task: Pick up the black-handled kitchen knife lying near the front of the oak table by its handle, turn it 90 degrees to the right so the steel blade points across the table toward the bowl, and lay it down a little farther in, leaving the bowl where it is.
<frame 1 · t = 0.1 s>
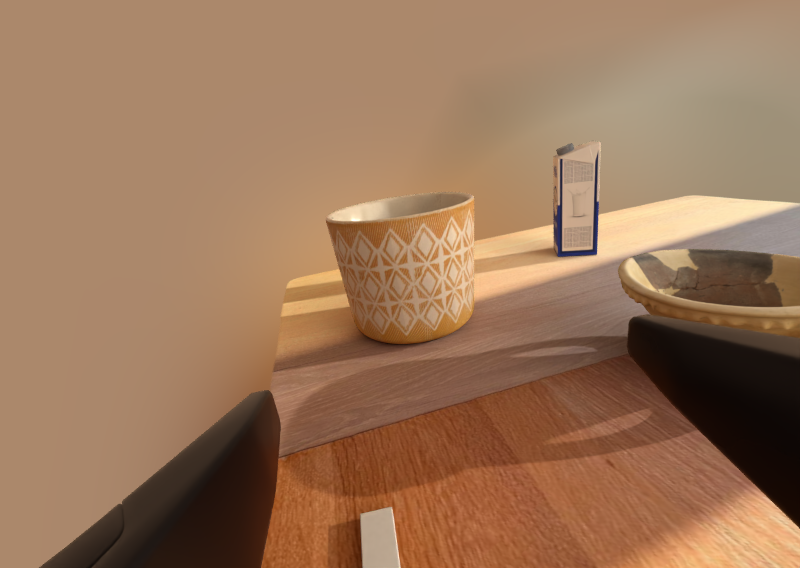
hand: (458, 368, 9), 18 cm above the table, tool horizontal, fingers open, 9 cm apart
planter: (414, 319, 55), on the table
bowl: (718, 362, 36), on the table
milk carton: (574, 251, 74), on the table
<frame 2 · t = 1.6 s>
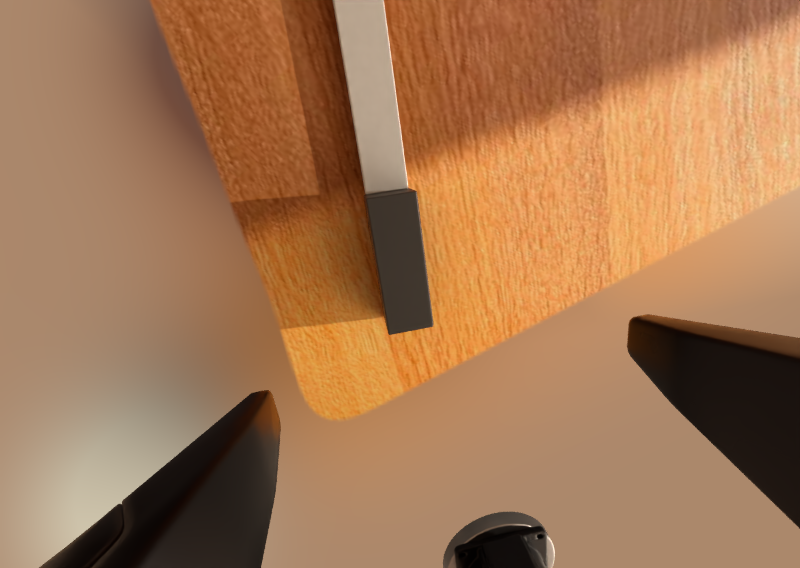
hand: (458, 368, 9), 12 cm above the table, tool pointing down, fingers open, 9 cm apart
knife: (404, 314, 22), on the table
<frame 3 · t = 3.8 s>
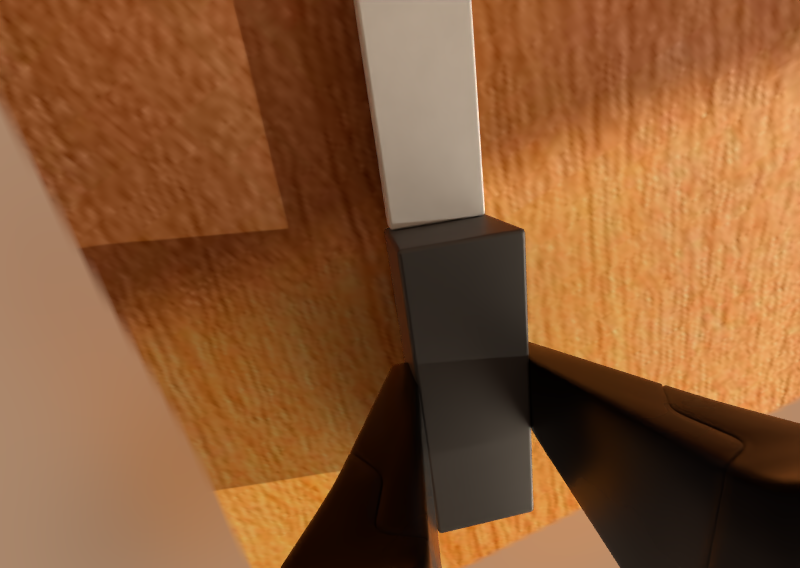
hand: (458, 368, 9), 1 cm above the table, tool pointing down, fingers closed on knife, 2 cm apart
knife: (458, 450, 11), on the table, touching gripper
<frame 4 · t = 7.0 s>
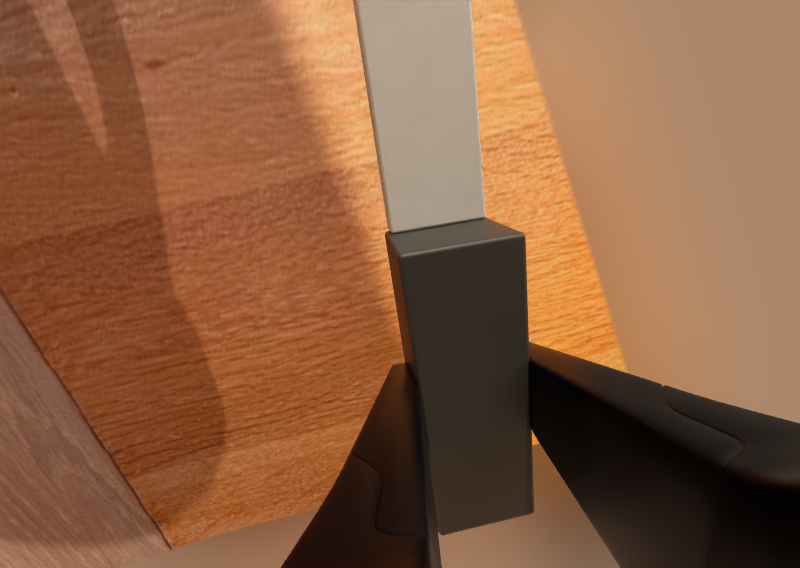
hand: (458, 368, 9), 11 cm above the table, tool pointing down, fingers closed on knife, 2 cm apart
knife: (459, 452, 11), point 10 cm above the table, touching gripper
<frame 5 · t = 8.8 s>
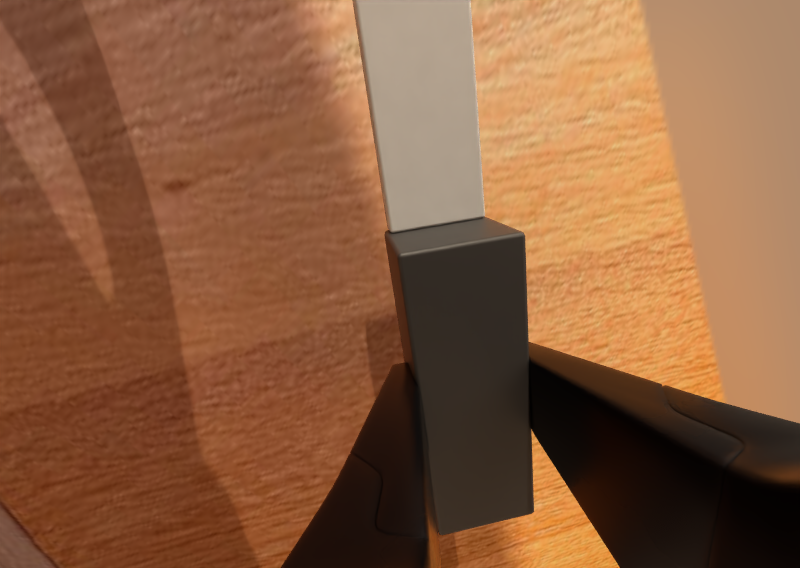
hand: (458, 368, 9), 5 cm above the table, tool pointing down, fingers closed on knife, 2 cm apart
knife: (459, 452, 11), point 4 cm above the table, touching gripper
when the fingers open (1 cm above the table, at t = 10.1 s): knife stays where it is, on the table.
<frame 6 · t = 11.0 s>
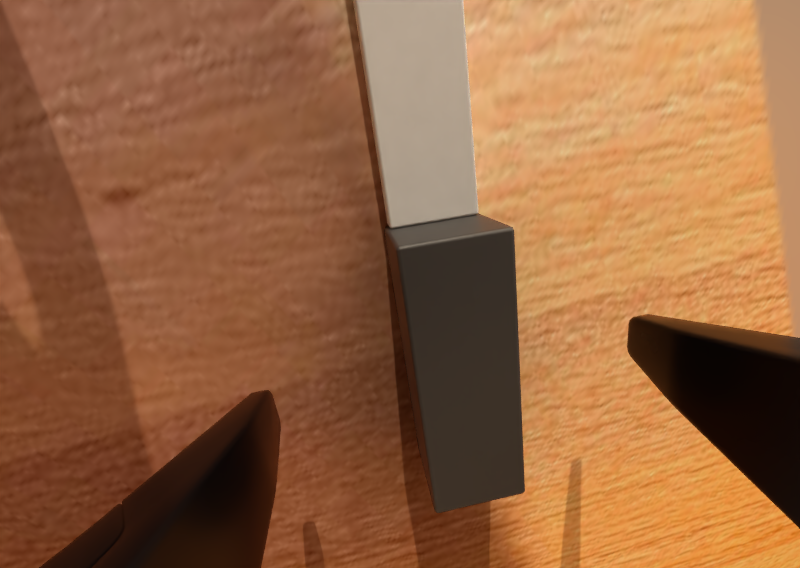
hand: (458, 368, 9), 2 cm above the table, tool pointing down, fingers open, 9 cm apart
knife: (455, 438, 12), on the table
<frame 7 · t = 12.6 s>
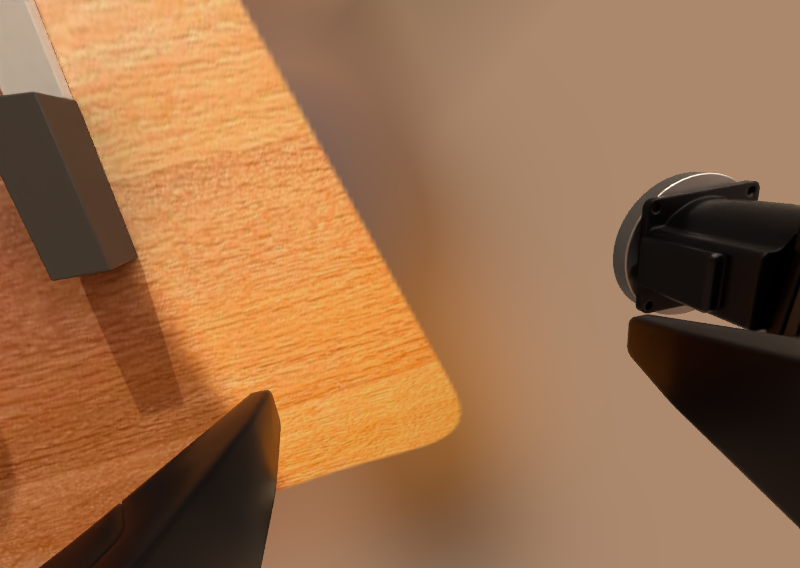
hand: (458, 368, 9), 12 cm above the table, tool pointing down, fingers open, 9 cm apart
knife: (112, 262, 18), on the table
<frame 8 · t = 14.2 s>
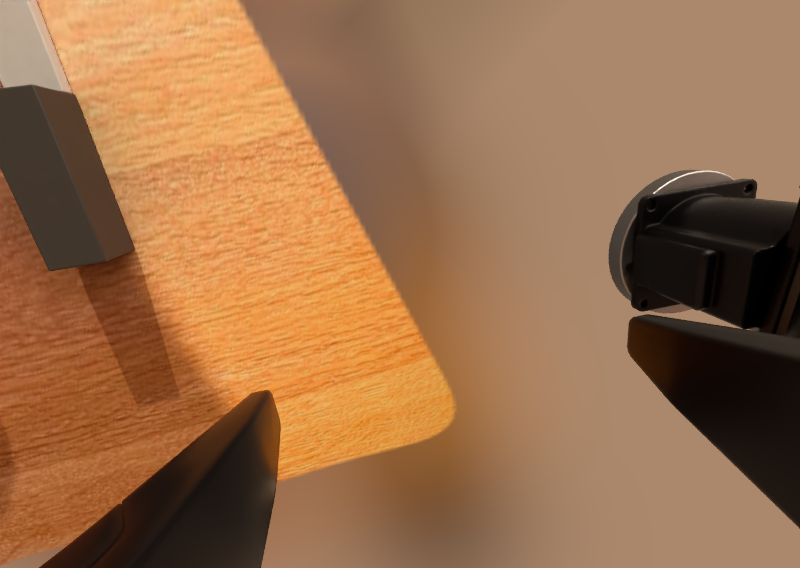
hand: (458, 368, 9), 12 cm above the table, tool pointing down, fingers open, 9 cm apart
knife: (110, 254, 18), on the table
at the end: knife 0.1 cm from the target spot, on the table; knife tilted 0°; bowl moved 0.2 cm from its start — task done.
